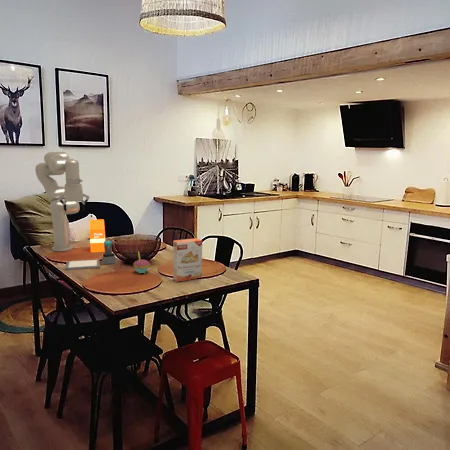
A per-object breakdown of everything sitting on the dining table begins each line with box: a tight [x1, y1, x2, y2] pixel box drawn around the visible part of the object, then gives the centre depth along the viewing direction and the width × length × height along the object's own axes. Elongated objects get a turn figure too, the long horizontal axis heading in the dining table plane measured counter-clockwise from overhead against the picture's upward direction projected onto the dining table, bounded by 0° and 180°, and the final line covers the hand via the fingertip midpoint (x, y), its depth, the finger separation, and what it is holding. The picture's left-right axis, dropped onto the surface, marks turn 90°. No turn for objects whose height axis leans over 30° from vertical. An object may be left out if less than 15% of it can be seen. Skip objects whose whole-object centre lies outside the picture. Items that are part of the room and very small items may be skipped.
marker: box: [104, 240, 113, 257], centre depth 250 cm, size 4×4×12 cm
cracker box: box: [172, 237, 203, 283], centre depth 224 cm, size 14×6×21 cm, turn 117°
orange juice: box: [89, 218, 106, 253], centre depth 274 cm, size 8×9×20 cm
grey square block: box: [101, 252, 116, 266], centre depth 251 cm, size 7×7×4 cm
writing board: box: [64, 258, 101, 271], centre depth 246 cm, size 14×18×1 cm
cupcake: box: [132, 250, 151, 274], centre depth 234 cm, size 9×8×12 cm
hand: (74, 211), depth 254 cm, fingers open, 9 cm apart
